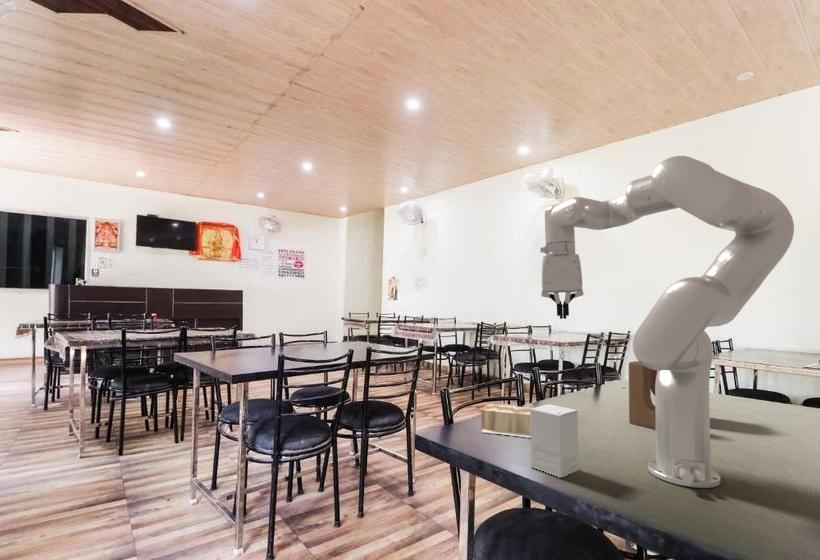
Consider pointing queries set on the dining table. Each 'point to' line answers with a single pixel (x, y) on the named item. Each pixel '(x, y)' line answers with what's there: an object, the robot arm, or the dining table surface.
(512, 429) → the ash block
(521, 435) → the pad
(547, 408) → the supplement box
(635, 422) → the wooden block
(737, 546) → the dining table surface
